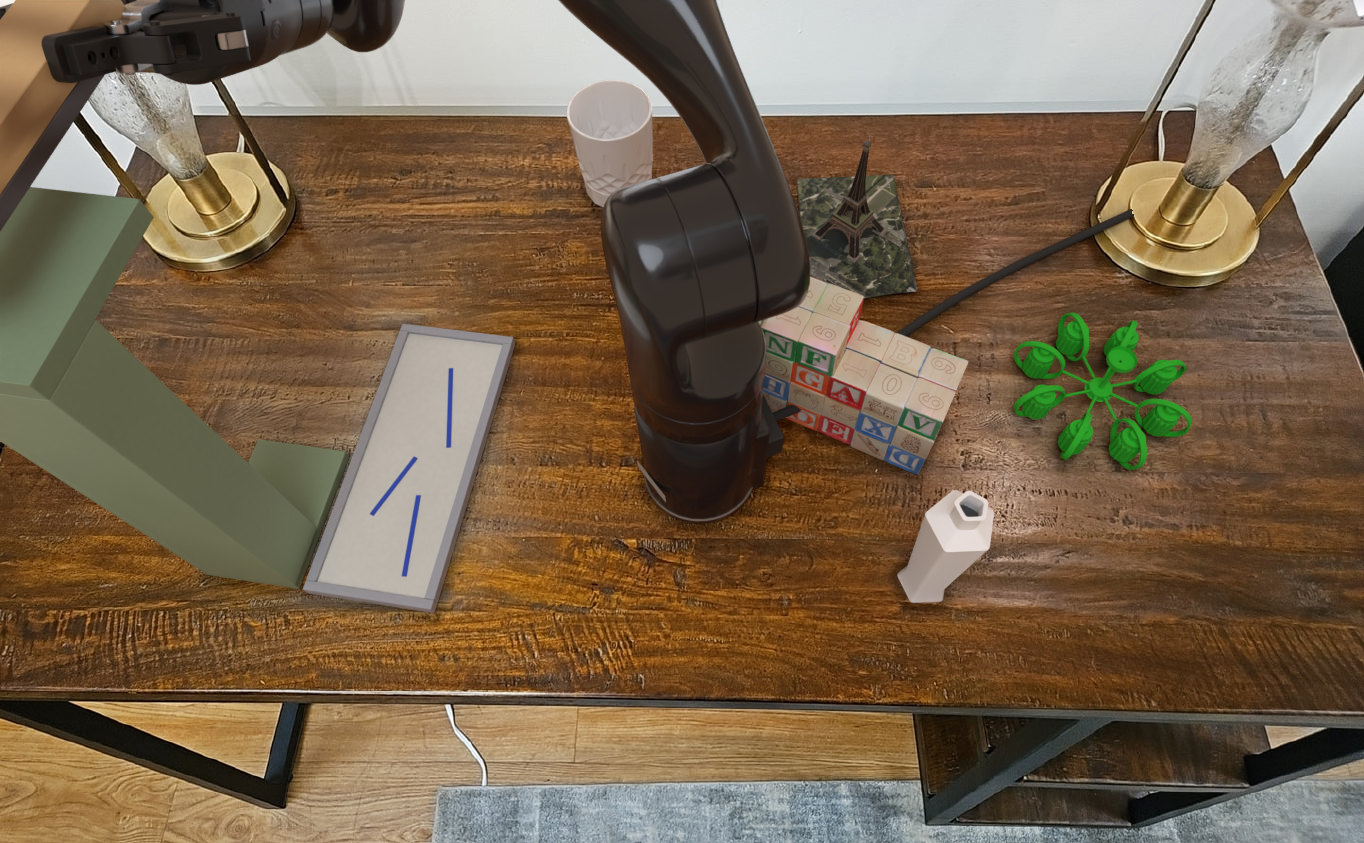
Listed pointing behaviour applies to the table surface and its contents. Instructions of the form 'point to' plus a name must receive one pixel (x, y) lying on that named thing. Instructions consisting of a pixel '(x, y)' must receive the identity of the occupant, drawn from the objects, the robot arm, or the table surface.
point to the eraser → (38, 88)
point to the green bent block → (137, 406)
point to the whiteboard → (412, 470)
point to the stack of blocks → (858, 377)
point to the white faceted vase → (947, 545)
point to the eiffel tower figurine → (856, 232)
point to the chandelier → (1102, 390)
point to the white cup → (611, 136)
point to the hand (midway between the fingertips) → (12, 57)
